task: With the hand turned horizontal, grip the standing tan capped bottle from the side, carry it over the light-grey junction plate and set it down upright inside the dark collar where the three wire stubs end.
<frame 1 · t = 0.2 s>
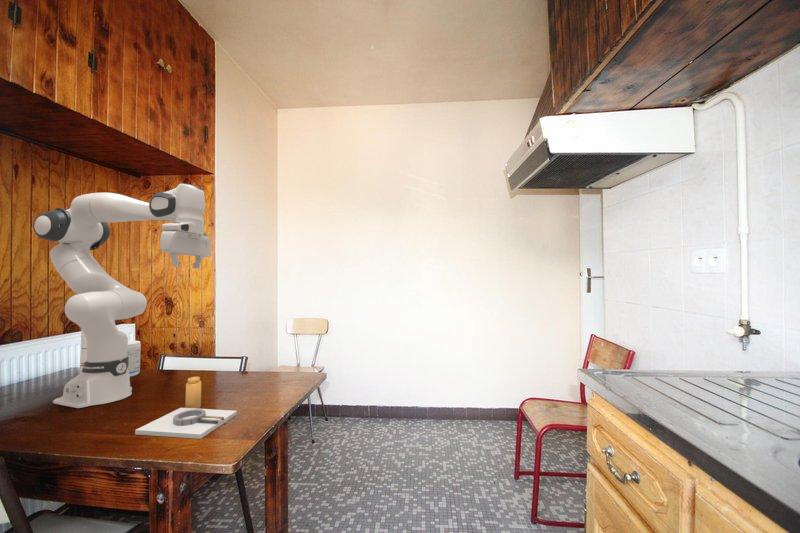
hand: (186, 267, 116), 47 cm above the table, tool pointing down, fingers open, 8 cm apart
junction plate: (189, 423, 98), on the table
tan capped bottle: (193, 408, 110), on the table
cylindrical container: (90, 375, 147), on the table
supplement tub: (126, 375, 147), on the table
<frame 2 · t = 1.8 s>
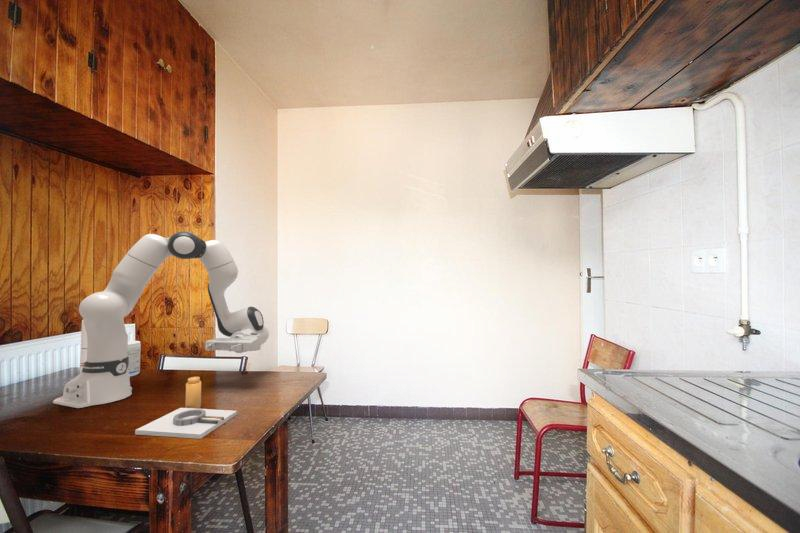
hand: (218, 348, 122), 17 cm above the table, tool horizontal, fingers open, 8 cm apart
nothing on the table moved.
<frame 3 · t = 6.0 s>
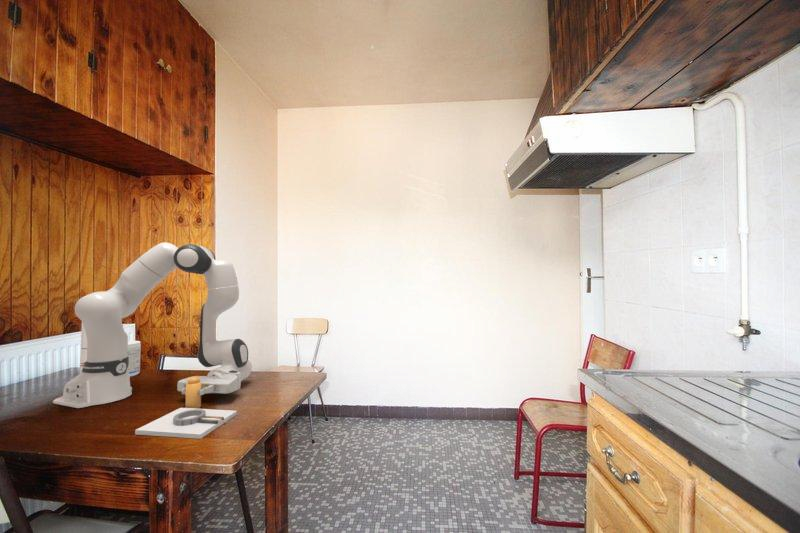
hand: (191, 392, 109), 6 cm above the table, tool horizontal, fingers closed on tan capped bottle, 4 cm apart
tan capped bottle: (193, 408, 110), on the table, touching gripper
everything else where it was.
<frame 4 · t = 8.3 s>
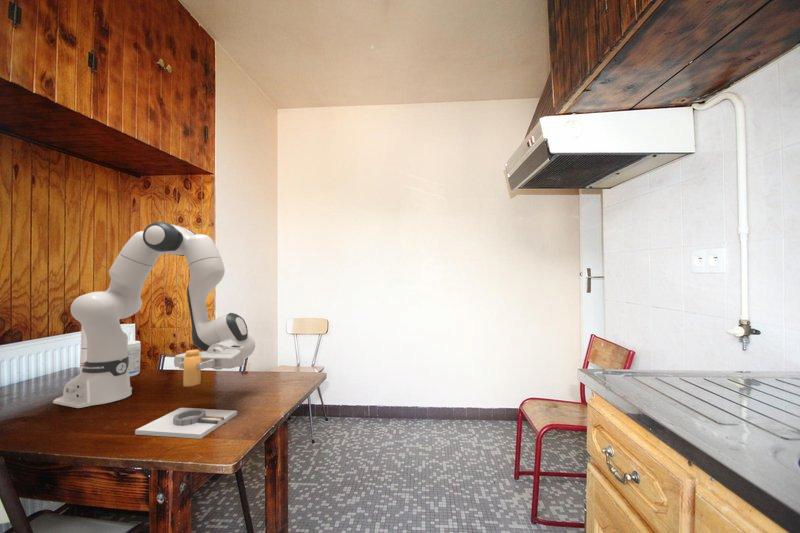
hand: (189, 366, 98), 17 cm above the table, tool horizontal, fingers closed on tan capped bottle, 4 cm apart
tan capped bottle: (191, 383, 99), point 12 cm above the table, touching gripper
everything else where it was.
when the fingers open (8 cm above the table, at t = 10.4 s): tan capped bottle drops 1 cm, resting on junction plate.
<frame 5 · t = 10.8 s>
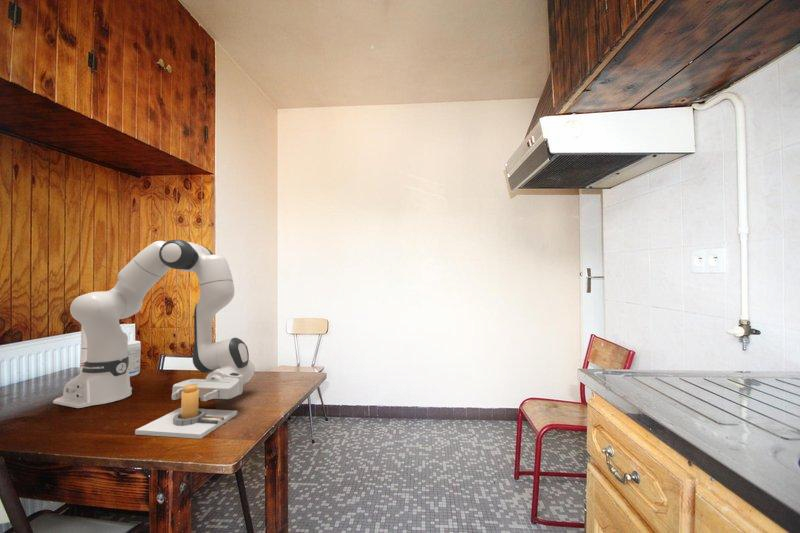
hand: (188, 397, 97), 8 cm above the table, tool horizontal, fingers open, 8 cm apart
tan capped bottle: (189, 419, 98), point 1 cm above the table, touching junction plate
everything else where it was.
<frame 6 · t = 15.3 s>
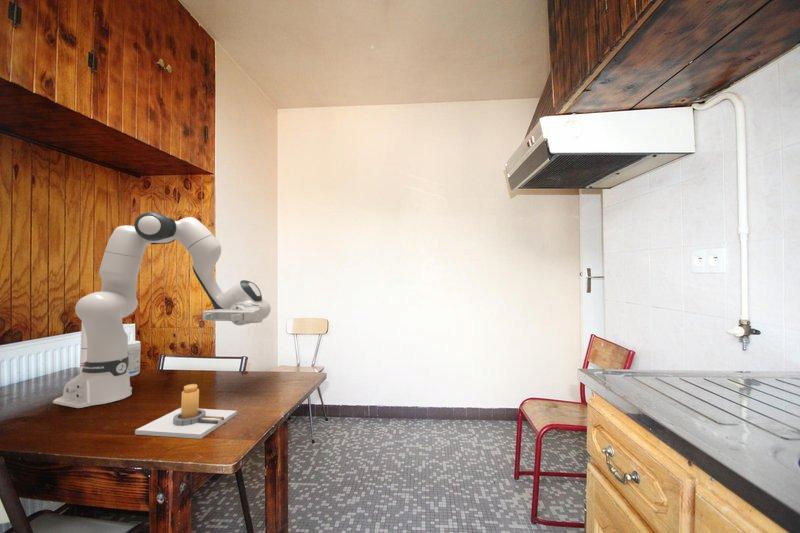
hand: (217, 317, 113), 30 cm above the table, tool horizontal, fingers open, 8 cm apart
nothing on the table moved.
at the end: tan capped bottle 0.1 cm off-centre on the junction plate, point 1.2 cm above the junction plate's base; tan capped bottle tilted 1°; the gripper is holding nothing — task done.
